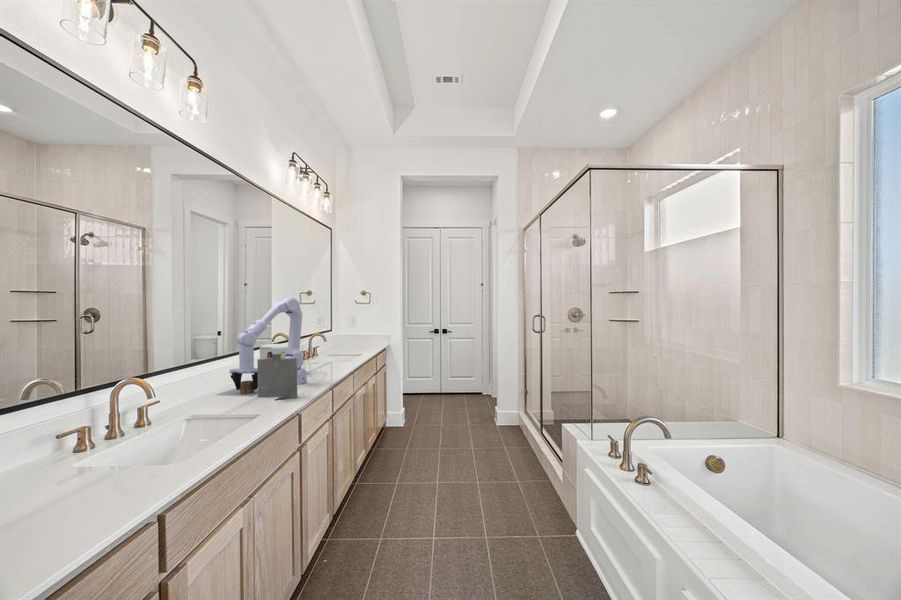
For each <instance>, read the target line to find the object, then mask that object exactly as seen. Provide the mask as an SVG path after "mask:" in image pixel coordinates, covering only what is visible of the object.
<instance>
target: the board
mask: <svg viewBox="0 0 901 600" xmlns="http://www.w3.org/2000/svg"><path fill="white" fill-rule="evenodd" d="M256 395H258V388H257V389H256V390H254V393H251V394H240V390H237V389H236V388H233V389H229V390H226V391H223V392H221V393H220V392H219V393H217V394H216V396H231V397H233V396H234V397H253V396H256Z"/></svg>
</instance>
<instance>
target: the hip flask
mask: <svg viewBox="0 0 901 600" xmlns="http://www.w3.org/2000/svg"><path fill="white" fill-rule="evenodd" d="M280 355H281V353H273V354H272V356H273V358H265V359H260V358H259V359H257V361H256V362H257V363H256V365H257V368H258V388H257V389H258V394H257V397H258V398H276V397H277V398H276V399H274V401H282V400H283V401H284V400H286V401H287V400H293V399H294V400H295V399H297V398H298V385H297V358H281V356H280Z"/></svg>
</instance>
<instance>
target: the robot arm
mask: <svg viewBox="0 0 901 600" xmlns="http://www.w3.org/2000/svg"><path fill="white" fill-rule="evenodd" d="M300 306H301V303H300V302H299V300H297V299H296V298H294V297H290V298H284V297H283V298H279V299H278V300H277V301H276V302H275V303H274V304H273V305H272V307H270V309H268V311H267V312H266V313H265V314H264V315H263V316H262V317H261V319H256V320H253V321H252V322H251V325H250V326H249V327H247V328H246V329H244V332H241V333H239V334H238V336H237V337H236V344H238V352H239V353H238V354H239V355H238V359H239V361H238V362H239V365H238V368H231V369H229V374H230V379H231V380H232V381H233V383H234V385H235V389H237V390H240V382H242V376H243V374H251V376H250V377H251V379H252V381H253V390H256V389H258V367H255V357H254V356H255V355H254V349H255V348H254V344H256V342H257V338H258V337H259V336H260V335H262V333H263V332H265V330H266V329H267V325H268V323H270V322H271V321H272V320H273V319H274V318H276V316H278V315H279V314H282V313H285V314H286V315H287V316H288V317H289V318H290V320H289V327H288V329H289V330H288V340H287V344H288V349H287V350H286V351H285V355H284V357H283V358H297V386H301V385H304V384H305V385H306V384H308V383H307V382H308V381H307V377H308V376H307V375H308V373H307V370H306V369H305V368H302V367H303V365H304V364H305V363H304V362H305V361H304V357H303V352H302V351H301V349H300V347H301V334H302V323H303V311H302V309H301V307H300Z"/></svg>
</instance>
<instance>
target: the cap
mask: <svg viewBox="0 0 901 600" xmlns="http://www.w3.org/2000/svg"><path fill="white" fill-rule="evenodd" d="M251 393H254V390H253V380H243V381H242V380H241V382H240V394H251Z"/></svg>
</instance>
